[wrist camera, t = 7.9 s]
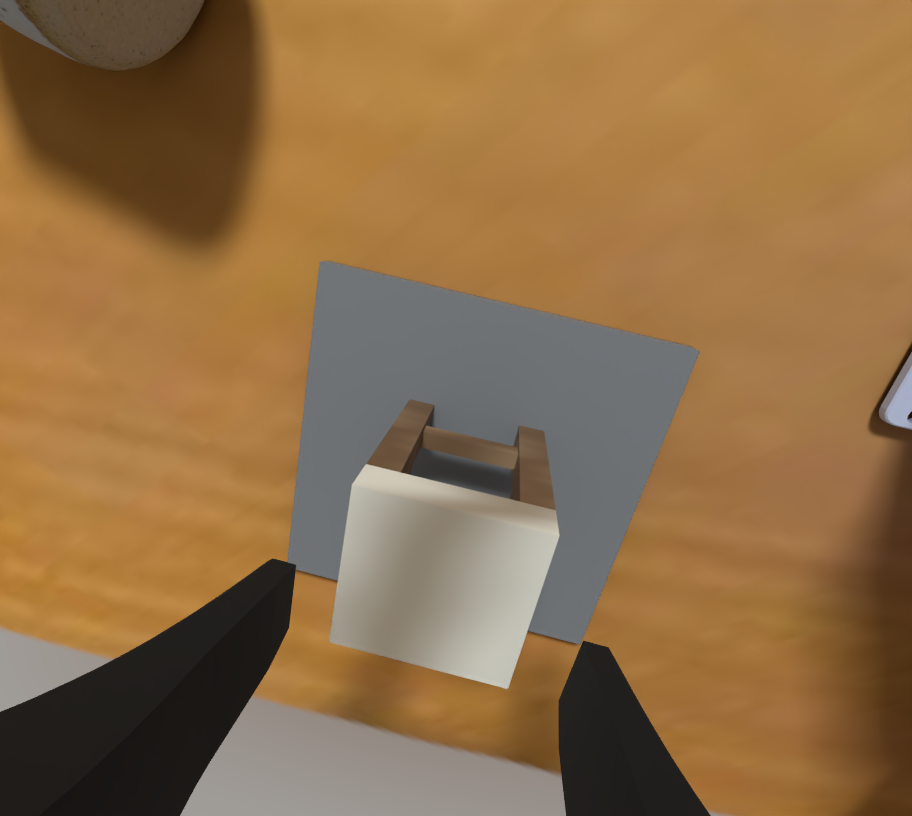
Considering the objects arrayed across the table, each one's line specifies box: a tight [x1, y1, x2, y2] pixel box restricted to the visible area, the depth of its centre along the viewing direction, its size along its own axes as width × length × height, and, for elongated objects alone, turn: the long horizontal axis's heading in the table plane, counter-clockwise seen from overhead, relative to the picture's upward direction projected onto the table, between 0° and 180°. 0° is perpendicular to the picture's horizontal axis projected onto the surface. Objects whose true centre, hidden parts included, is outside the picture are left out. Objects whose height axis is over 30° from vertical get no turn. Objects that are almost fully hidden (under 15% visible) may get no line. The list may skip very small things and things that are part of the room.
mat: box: [287, 261, 700, 645], centre depth 20 cm, size 14×14×1 cm
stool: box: [329, 399, 560, 689], centre depth 16 cm, size 5×5×7 cm
